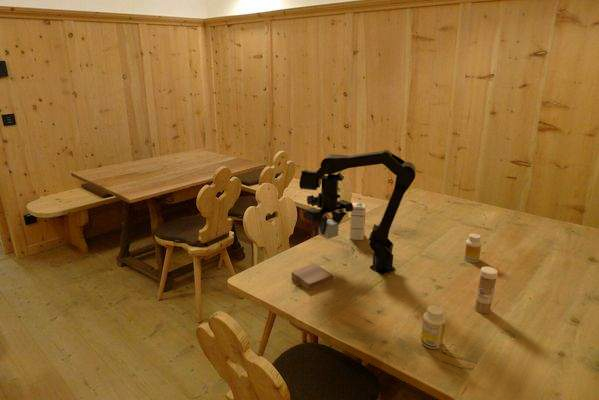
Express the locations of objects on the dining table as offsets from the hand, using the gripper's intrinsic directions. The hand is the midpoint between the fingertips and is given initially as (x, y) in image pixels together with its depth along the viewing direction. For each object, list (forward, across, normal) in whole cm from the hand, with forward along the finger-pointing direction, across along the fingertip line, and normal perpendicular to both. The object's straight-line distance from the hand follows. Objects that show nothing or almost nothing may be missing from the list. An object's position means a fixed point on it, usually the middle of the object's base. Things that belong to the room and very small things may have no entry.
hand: (328, 232), depth 146 cm
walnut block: (+12, +13, +7) cm, 19 cm away
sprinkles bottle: (+12, -17, +51) cm, 55 cm away
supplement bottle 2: (+12, -44, +31) cm, 55 cm away
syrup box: (+12, -24, -9) cm, 28 cm away
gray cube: (+1, 0, 0) cm, 1 cm away
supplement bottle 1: (+12, +8, +51) cm, 53 cm away
